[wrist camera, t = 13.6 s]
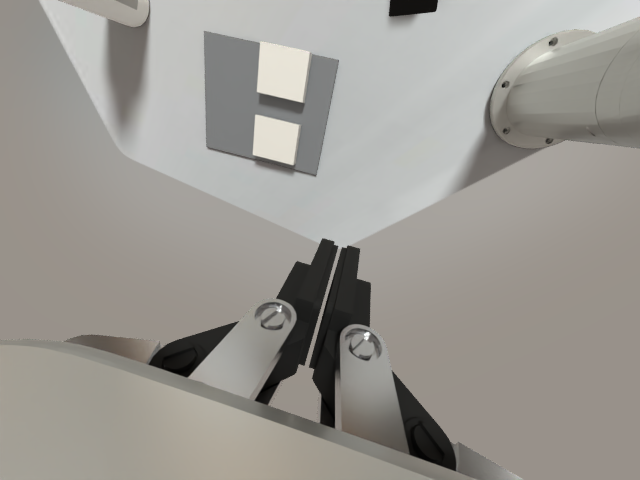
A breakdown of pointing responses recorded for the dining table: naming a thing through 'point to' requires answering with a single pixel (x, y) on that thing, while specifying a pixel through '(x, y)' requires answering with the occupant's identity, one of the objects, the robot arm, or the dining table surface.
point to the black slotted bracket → (411, 7)
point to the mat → (261, 101)
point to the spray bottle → (116, 10)
